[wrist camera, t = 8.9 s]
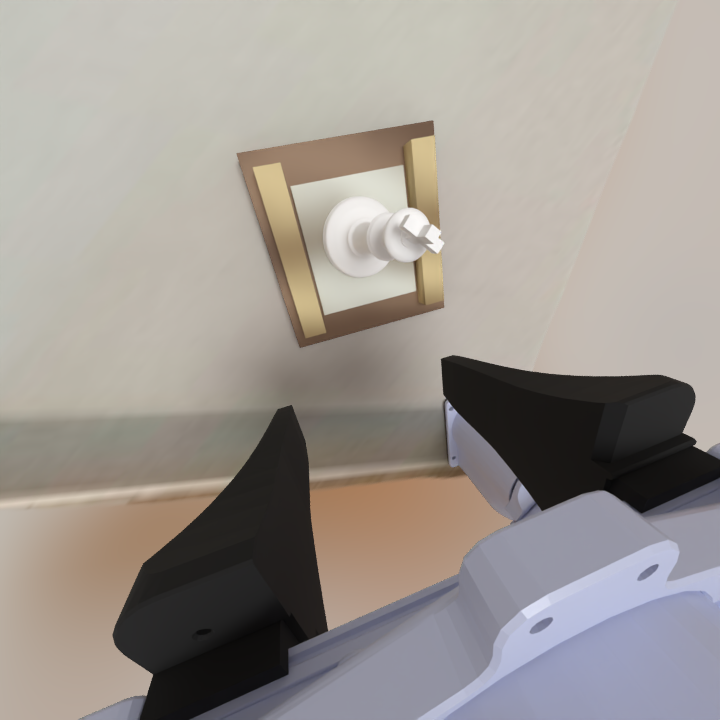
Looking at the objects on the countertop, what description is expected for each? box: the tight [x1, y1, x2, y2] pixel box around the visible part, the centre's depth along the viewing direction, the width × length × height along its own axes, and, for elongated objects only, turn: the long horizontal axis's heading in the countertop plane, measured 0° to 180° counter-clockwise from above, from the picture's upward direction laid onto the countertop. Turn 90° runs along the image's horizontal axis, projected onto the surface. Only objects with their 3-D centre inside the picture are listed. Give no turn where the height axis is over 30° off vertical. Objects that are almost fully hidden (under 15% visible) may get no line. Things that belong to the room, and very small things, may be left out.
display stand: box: [236, 121, 444, 348], centre depth 18 cm, size 12×12×2 cm
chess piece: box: [323, 196, 444, 278], centre depth 13 cm, size 5×5×10 cm
